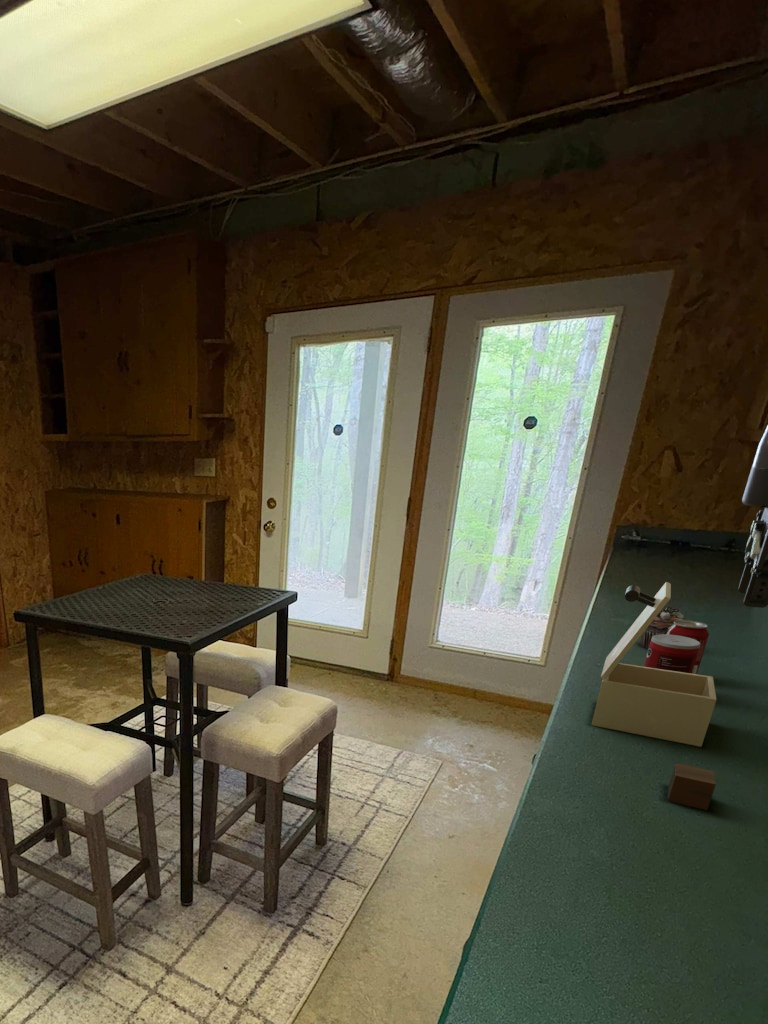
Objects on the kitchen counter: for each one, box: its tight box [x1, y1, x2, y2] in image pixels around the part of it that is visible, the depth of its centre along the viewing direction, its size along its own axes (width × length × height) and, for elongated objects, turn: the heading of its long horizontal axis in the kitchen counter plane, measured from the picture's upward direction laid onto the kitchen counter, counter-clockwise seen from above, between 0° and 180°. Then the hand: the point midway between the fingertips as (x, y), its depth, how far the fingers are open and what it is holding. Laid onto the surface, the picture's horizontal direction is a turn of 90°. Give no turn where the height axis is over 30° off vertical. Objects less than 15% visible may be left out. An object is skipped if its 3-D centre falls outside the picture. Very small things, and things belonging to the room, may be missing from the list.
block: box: [667, 763, 717, 811], centre depth 89 cm, size 4×4×4 cm
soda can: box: [667, 619, 710, 674], centre depth 132 cm, size 7×7×12 cm
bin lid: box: [600, 581, 672, 680], centre depth 111 cm, size 16×13×5 cm
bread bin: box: [591, 662, 717, 748], centre depth 112 cm, size 16×13×9 cm
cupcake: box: [640, 605, 686, 650], centre depth 150 cm, size 10×10×10 cm
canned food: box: [643, 634, 700, 674], centre depth 125 cm, size 8×8×11 cm
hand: (751, 599), depth 79 cm, fingers open, 8 cm apart
